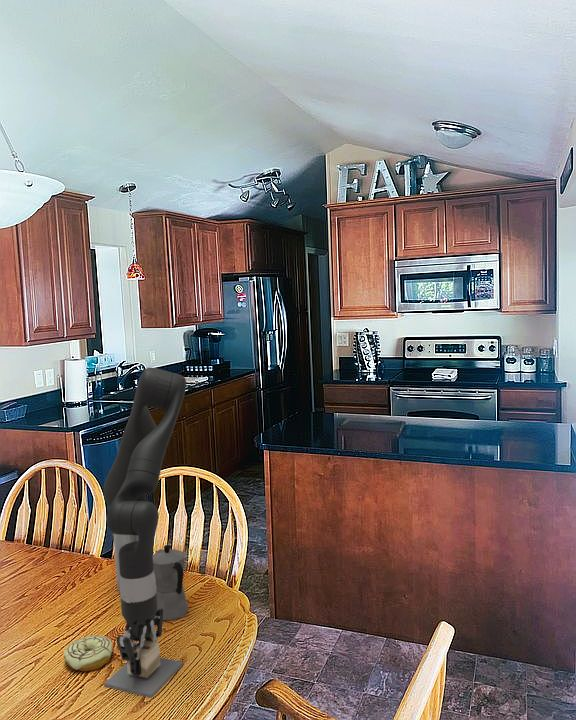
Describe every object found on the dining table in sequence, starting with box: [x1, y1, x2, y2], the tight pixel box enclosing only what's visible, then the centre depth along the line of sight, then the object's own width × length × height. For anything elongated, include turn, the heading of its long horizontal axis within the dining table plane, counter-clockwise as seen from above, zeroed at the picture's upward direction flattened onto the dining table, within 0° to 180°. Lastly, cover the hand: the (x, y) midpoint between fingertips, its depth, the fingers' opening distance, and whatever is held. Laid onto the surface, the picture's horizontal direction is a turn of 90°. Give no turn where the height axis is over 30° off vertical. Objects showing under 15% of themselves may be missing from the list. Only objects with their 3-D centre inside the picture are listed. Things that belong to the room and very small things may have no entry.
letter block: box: [126, 640, 161, 678], centre depth 135 cm, size 5×5×5 cm
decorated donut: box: [63, 634, 114, 672], centre depth 142 cm, size 10×11×4 cm
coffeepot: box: [153, 544, 189, 622], centre depth 160 cm, size 15×9×18 cm, turn 33°
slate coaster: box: [103, 656, 184, 699], centre depth 135 cm, size 12×12×1 cm
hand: (144, 666), depth 135 cm, fingers closed on letter block, 4 cm apart
